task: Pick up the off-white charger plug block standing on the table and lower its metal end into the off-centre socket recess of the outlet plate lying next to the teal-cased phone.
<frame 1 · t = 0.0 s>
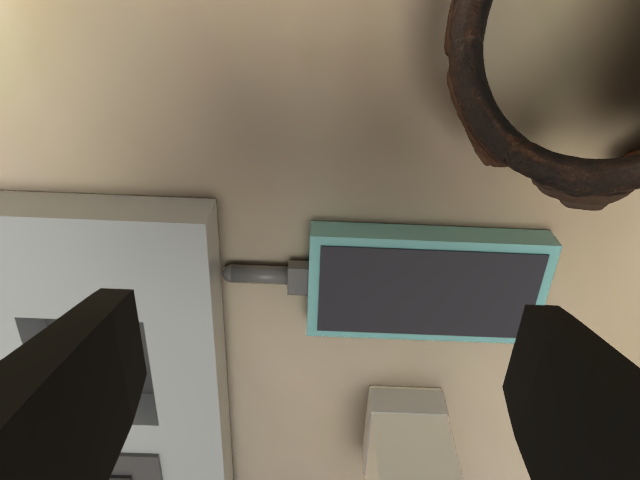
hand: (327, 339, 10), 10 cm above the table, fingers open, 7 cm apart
outlet plate: (71, 375, 24), on the table
charger plug: (400, 418, 25), on the table
phone with cable: (422, 275, 21), on the table
brown curved looped piece: (623, 9, 17), on the table
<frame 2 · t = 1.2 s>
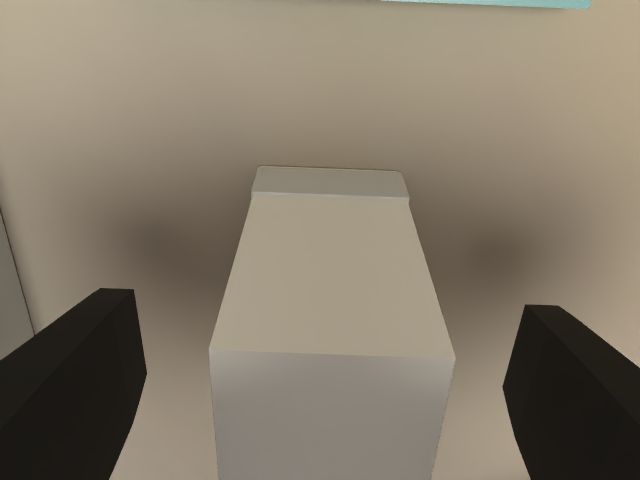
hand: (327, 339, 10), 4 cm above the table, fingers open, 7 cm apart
charger plug: (326, 242, 14), on the table
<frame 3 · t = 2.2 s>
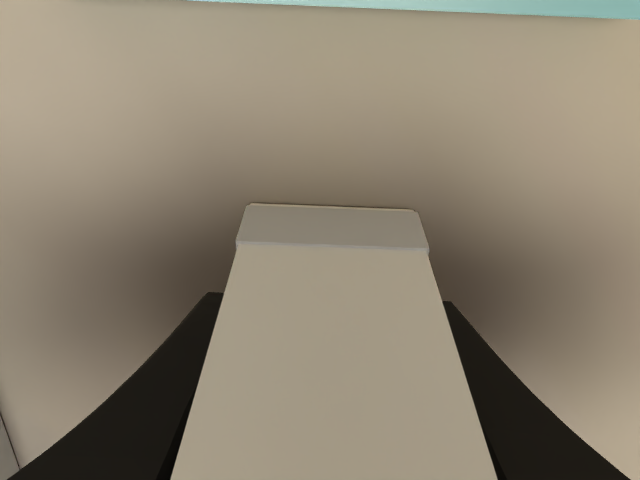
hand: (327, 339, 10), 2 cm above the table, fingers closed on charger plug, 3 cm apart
charger plug: (327, 290, 12), on the table, touching gripper
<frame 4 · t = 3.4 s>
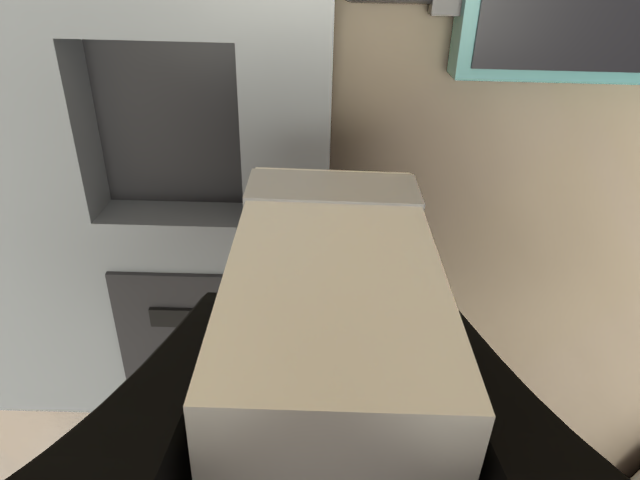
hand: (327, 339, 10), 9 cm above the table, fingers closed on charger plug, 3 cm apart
outlet plate: (121, 177, 18), on the table
charger plug: (328, 252, 12), point 6 cm above the table, touching gripper
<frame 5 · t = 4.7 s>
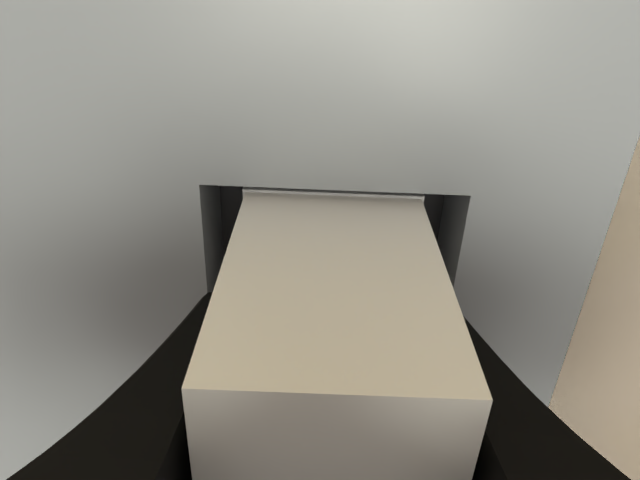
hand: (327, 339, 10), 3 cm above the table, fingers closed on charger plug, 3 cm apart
outlet plate: (245, 327, 14), on the table
charger plug: (328, 246, 12), resting on outlet plate, touching gripper
when the fingers open (3 cm above the table, at t = 5.0 s): charger plug stays where it is, resting on outlet plate.
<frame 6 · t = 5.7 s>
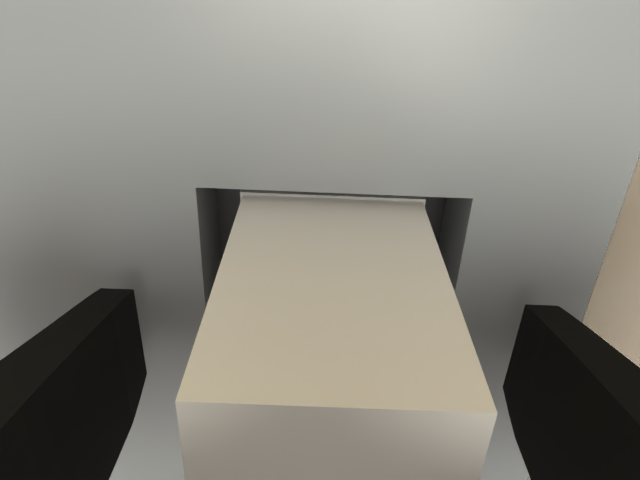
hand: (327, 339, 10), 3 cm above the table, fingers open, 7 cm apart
outlet plate: (243, 331, 13), on the table
charger plug: (327, 249, 12), resting on outlet plate
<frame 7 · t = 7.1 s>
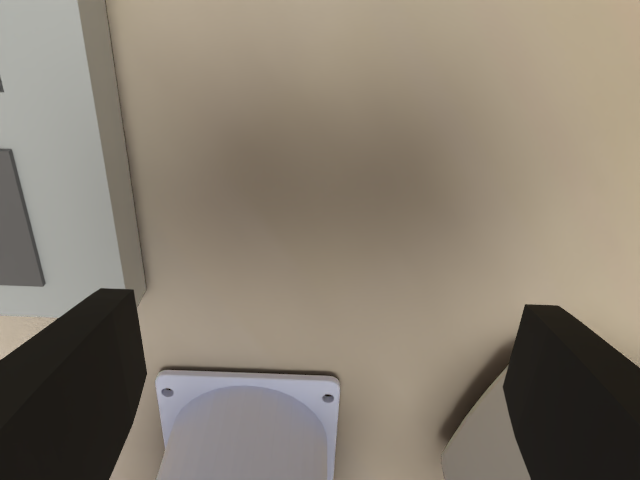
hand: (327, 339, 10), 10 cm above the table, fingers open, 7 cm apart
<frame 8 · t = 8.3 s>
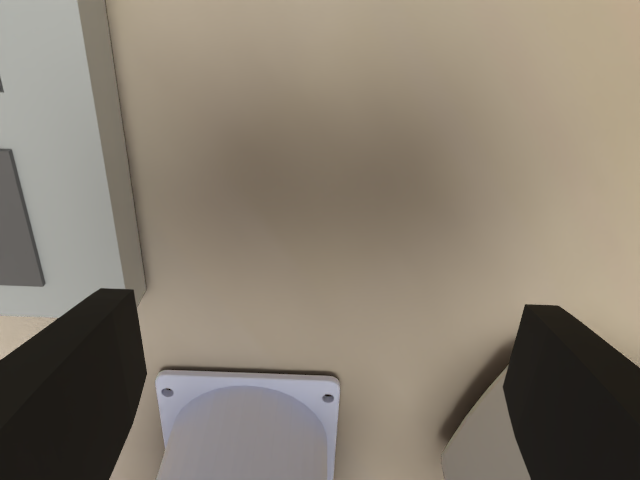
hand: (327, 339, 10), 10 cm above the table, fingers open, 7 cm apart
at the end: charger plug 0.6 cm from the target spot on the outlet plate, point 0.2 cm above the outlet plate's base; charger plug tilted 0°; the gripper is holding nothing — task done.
